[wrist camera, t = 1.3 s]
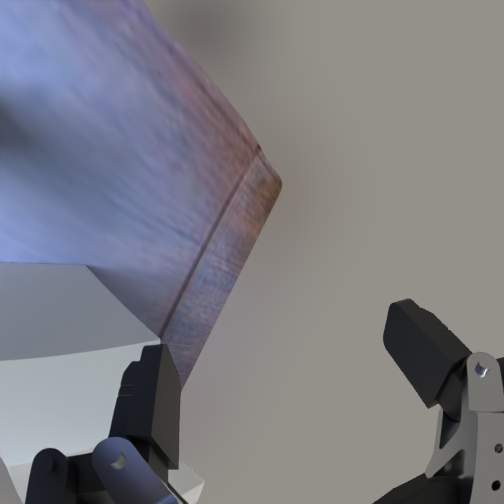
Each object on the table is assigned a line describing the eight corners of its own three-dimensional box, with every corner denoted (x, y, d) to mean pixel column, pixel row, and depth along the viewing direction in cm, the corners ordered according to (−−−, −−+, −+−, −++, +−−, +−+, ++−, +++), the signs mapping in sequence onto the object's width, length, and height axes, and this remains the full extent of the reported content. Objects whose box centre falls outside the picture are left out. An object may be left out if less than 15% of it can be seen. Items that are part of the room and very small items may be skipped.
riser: (-4, 409, 26) (79, 570, 8) (-31, 260, 22) (-16, 478, 4) (82, 396, 42) (189, 520, 24) (85, 264, 38) (235, 397, 20)
